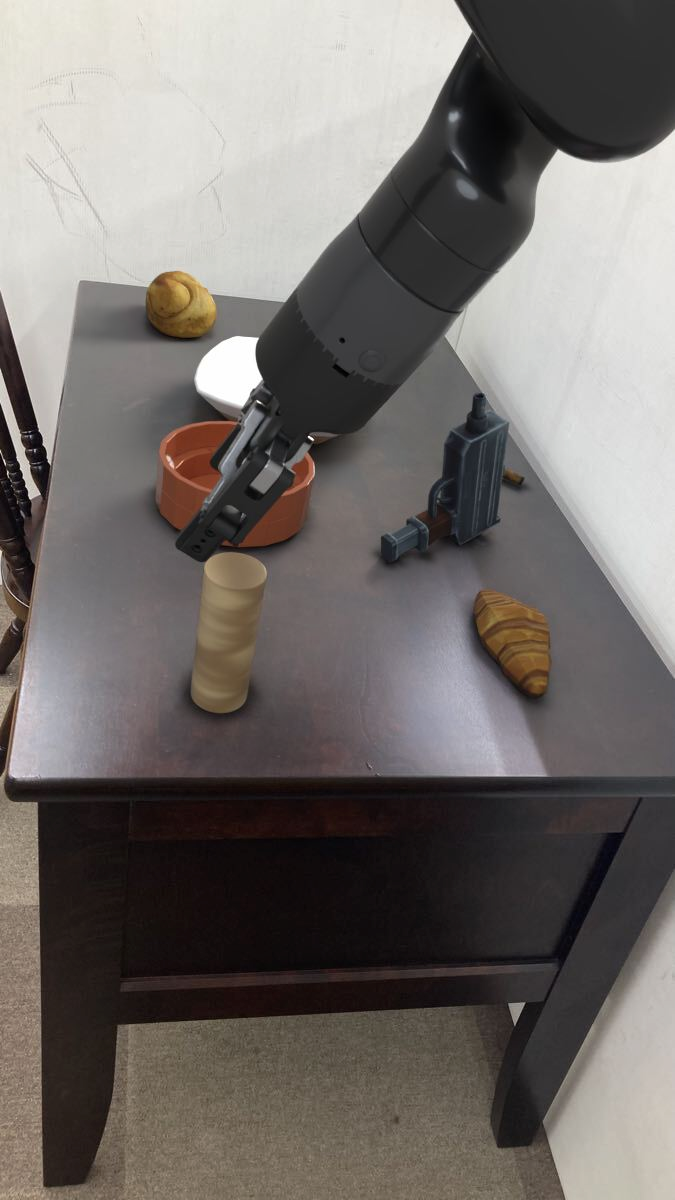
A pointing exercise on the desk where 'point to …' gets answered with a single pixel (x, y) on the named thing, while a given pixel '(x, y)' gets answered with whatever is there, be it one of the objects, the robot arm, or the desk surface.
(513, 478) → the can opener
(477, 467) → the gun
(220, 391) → the bowl
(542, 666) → the croissant
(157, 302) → the bread roll
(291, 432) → the robot arm
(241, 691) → the tan cylinder
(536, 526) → the desk surface
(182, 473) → the clay bowl
